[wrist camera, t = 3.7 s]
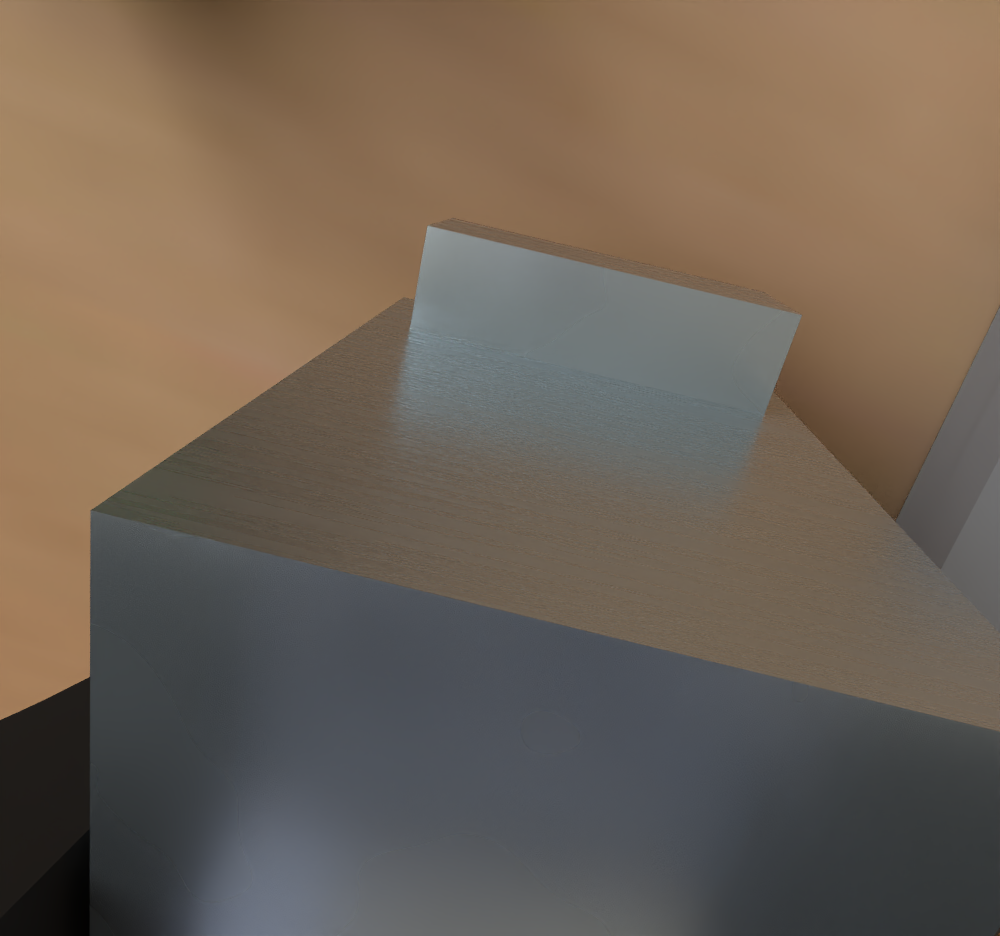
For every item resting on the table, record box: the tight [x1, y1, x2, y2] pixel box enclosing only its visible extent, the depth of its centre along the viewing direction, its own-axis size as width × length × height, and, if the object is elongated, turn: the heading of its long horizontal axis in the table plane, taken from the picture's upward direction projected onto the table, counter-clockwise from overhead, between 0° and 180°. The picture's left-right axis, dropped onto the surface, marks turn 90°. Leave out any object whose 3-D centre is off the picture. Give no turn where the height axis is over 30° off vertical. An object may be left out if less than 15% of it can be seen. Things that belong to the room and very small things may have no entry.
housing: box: [90, 218, 1000, 936], centre depth 7 cm, size 10×4×6 cm, turn 168°
